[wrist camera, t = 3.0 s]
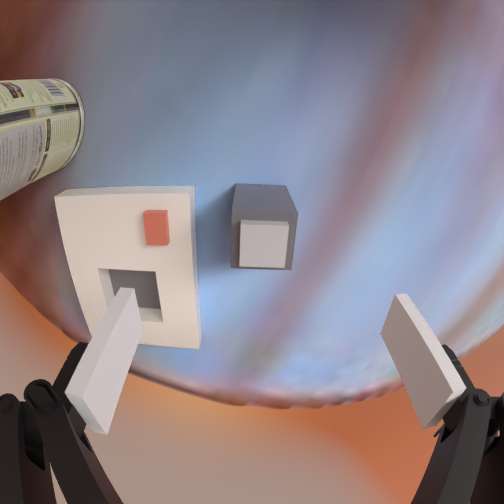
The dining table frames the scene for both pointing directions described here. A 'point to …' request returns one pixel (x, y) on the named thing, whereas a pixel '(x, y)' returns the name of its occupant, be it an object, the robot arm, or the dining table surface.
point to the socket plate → (135, 256)
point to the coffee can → (37, 130)
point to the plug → (262, 227)
